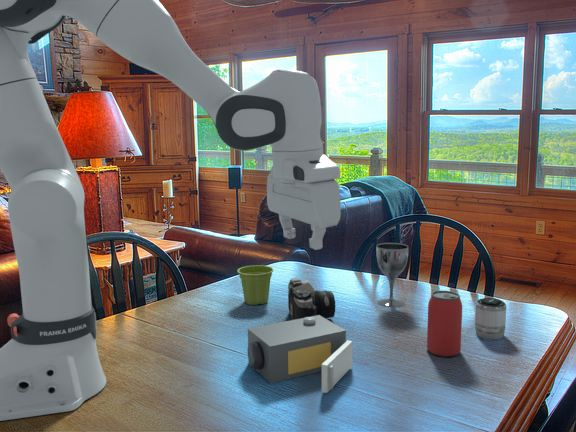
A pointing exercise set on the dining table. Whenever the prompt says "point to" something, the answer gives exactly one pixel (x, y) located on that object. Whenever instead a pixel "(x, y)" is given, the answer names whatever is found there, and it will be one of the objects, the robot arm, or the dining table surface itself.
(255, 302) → the plant pot
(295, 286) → the camera
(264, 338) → the block
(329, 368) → the side door
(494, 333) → the camera lens
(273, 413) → the dining table surface
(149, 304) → the dining table surface
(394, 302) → the wine glass
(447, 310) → the beer can
